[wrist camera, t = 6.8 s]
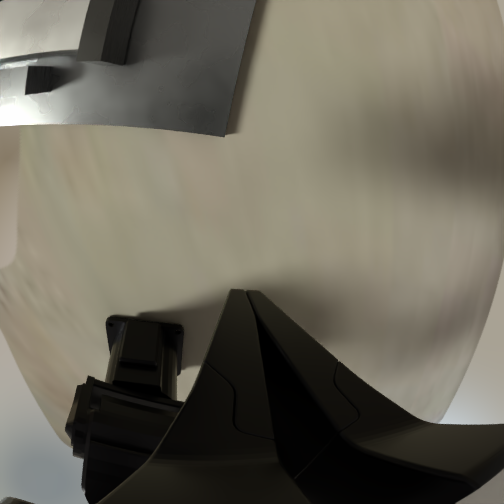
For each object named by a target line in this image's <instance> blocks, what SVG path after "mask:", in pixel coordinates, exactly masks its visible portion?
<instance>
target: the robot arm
mask: <svg viewBox="0 0 504 504" xmlns="http://www.w3.org/2000/svg"><path fill="white" fill-rule="evenodd" d="M112 323H113V324H112ZM176 330H180V331H176ZM106 331H107V338H108V345H109V351H110V359H109V364H108V369H107V374H106V379H105V382H103V381H100V380H97V379H95V377H92V376H89V375H88V377H87V381H86V384H85V383H83V385H77V389H76V393H75V397H74V401H73V405H72V408H71V411H70V414H69V417H68V420H67V423H66V427H65V432H66V433H67V435H68V436H69V438H70V439H71V446H73V456H75V457H78V458H82V459H84V462H83V472H82V483H81V485H82V490H83V492H84V494H85V497H86V499H87V501H88V503H89V504H504V424H489V425H459V424H458V425H457V424H436V423H430V422H427V421H423V420H421V419H419V418H417V417H415V416H413V415H412V414H410V413H409V412H407V411H406V410H404V409H403V408H401V407H400V406H398V405H397V404H395V403H394V402H393V401H391V400H390V399H388V398H387V397H385V396H384V395H382V394H381V393H380V392H378V391H377V390H375V389H374V388H373V387H371V386H370V385H369V384H367V383H366V382H364V381H363V380H362V379H361V378H359V377H358V376H357V375H356V374H354V373H353V372H352V371H351V370H350V369H348V368H347V367H346V366H345V365H344V364H343V363H341V362H340V361H338V359H337V358H335V357H334V356H333V355H332V354H331V353H330V352H328V351H327V350H326V349H325V348H324V347H323V346H322V345H320V344H319V343H318V342H317V341H316V340H315V339H314V338H312V337H311V336H310V335H309V334H308V333H307V332H306V331H304V330H303V329H302V328H301V327H300V326H299V325H298V324H296V323H295V322H294V321H293V320H292V319H291V318H290V317H289V316H287V315H286V314H285V313H284V312H283V311H282V310H281V309H280V308H278V307H277V306H276V305H275V304H274V303H273V302H272V301H271V300H269V299H268V298H267V297H266V296H265V295H264V294H263V293H262V292H260V291H257V290H246V291H245V290H242V289H231V290H230V291H229V294H228V296H227V299H226V302H225V304H224V307H223V310H222V312H221V315H220V318H219V320H218V323H217V326H216V328H215V331H214V334H213V336H212V339H211V342H210V344H209V347H208V350H207V353H206V355H205V358H204V361H203V363H202V365H201V368H200V371H199V374H198V376H197V378H196V381H195V383H194V385H193V388H192V390H191V392H190V393H189V395H188V397H187V399H186V401H185V402H182V401H177V376H178V375H180V373H181V360H182V348H183V336H184V327H183V326H181V325H179V324H169V323H159V322H149V321H140V320H131V319H123V318H115V317H108V318H107V320H106ZM0 504H34V503H31V502H27V501H24V500H21V499H17V498H13V497H5V498H4V499H3V500H2V501H1V502H0Z"/></svg>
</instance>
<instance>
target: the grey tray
mask: <svg viewBox="0 0 504 504" xmlns="http://www.w3.org/2000/svg"><path fill="white" fill-rule="evenodd" d="M0 1H3V0H0ZM255 3H256V0H139V1H138V5H137V8H136V12H135V16H134V19H133V23H132V27H131V32H130V36H129V40H128V45H127V50H126V54H125V59H124V65H123V66H102V65H96V64H89V63H83V62H76V58H77V55H66V56H53V57H43V58H35V59H27V60H20V61H14V62H8V63H3V64H0V126H9V125H30V124H90V125H113V126H129V127H142V128H154V129H164V130H173V131H182V132H190V133H198V134H205V135H212V136H219V137H225V133H226V128H227V123H228V118H229V113H230V109H231V104H232V99H233V95H234V90H235V85H236V81H237V76H238V72H239V68H240V63H241V59H242V55H243V51H244V46H245V42H246V38H247V34H248V30H249V26H250V22H251V18H252V14H253V10H254V7H255Z"/></svg>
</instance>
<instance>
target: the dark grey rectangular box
mask: <svg viewBox="0 0 504 504" xmlns="http://www.w3.org/2000/svg"><path fill="white" fill-rule="evenodd" d="M138 1H139V0H3V1H0V64H3V63H8V62H14V61H20V60H27V59H35V58H43V57H53V56H66V55H77V58H76V62H83V63H89V64H96V65H102V66H123V65H124V59H125V54H126V50H127V45H128V40H129V36H130V32H131V27H132V23H133V19H134V16H135V12H136V8H137V5H138Z"/></svg>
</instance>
